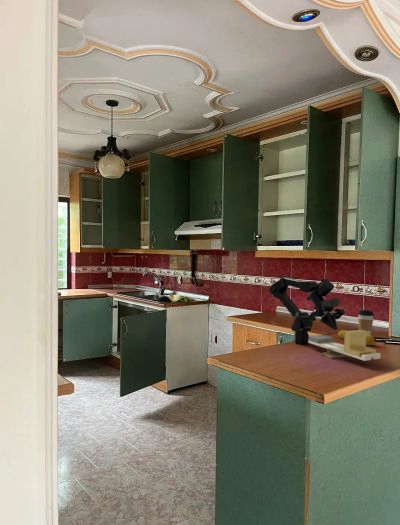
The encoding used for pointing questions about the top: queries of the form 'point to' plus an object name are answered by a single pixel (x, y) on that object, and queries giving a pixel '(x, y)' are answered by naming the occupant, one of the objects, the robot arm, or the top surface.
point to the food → (368, 337)
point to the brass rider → (356, 343)
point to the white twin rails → (338, 347)
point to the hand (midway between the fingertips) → (336, 329)
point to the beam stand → (333, 354)
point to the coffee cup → (365, 320)
